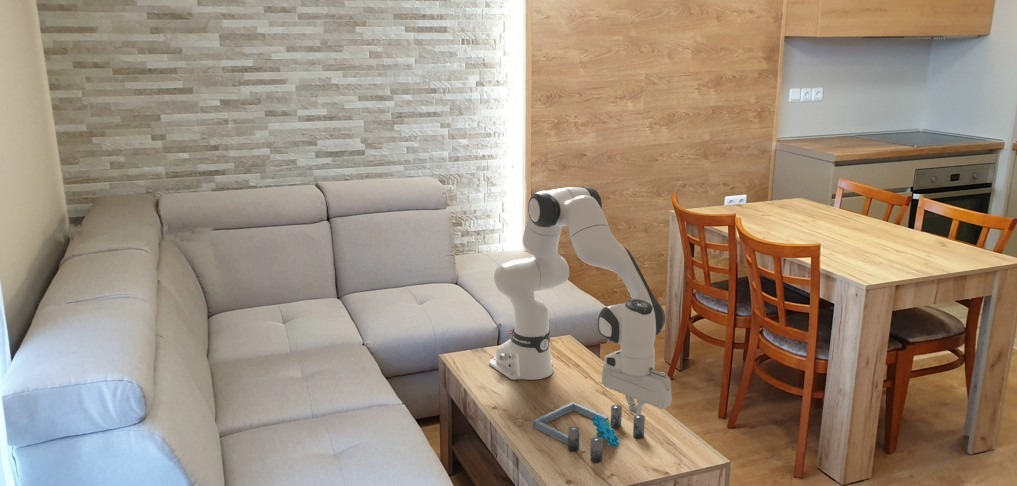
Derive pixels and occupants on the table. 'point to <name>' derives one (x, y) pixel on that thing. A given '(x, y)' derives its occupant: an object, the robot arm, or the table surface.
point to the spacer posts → (598, 441)
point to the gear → (605, 431)
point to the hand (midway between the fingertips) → (635, 412)
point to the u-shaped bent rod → (541, 421)
